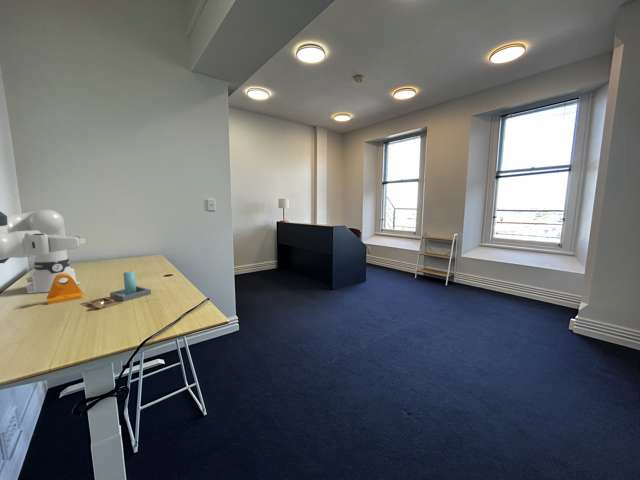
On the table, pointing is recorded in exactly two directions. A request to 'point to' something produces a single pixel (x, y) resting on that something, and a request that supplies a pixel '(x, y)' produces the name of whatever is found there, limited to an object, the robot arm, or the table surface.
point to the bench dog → (99, 305)
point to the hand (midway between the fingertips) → (84, 239)
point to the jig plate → (107, 301)
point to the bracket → (63, 290)
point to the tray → (120, 294)
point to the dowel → (129, 282)
